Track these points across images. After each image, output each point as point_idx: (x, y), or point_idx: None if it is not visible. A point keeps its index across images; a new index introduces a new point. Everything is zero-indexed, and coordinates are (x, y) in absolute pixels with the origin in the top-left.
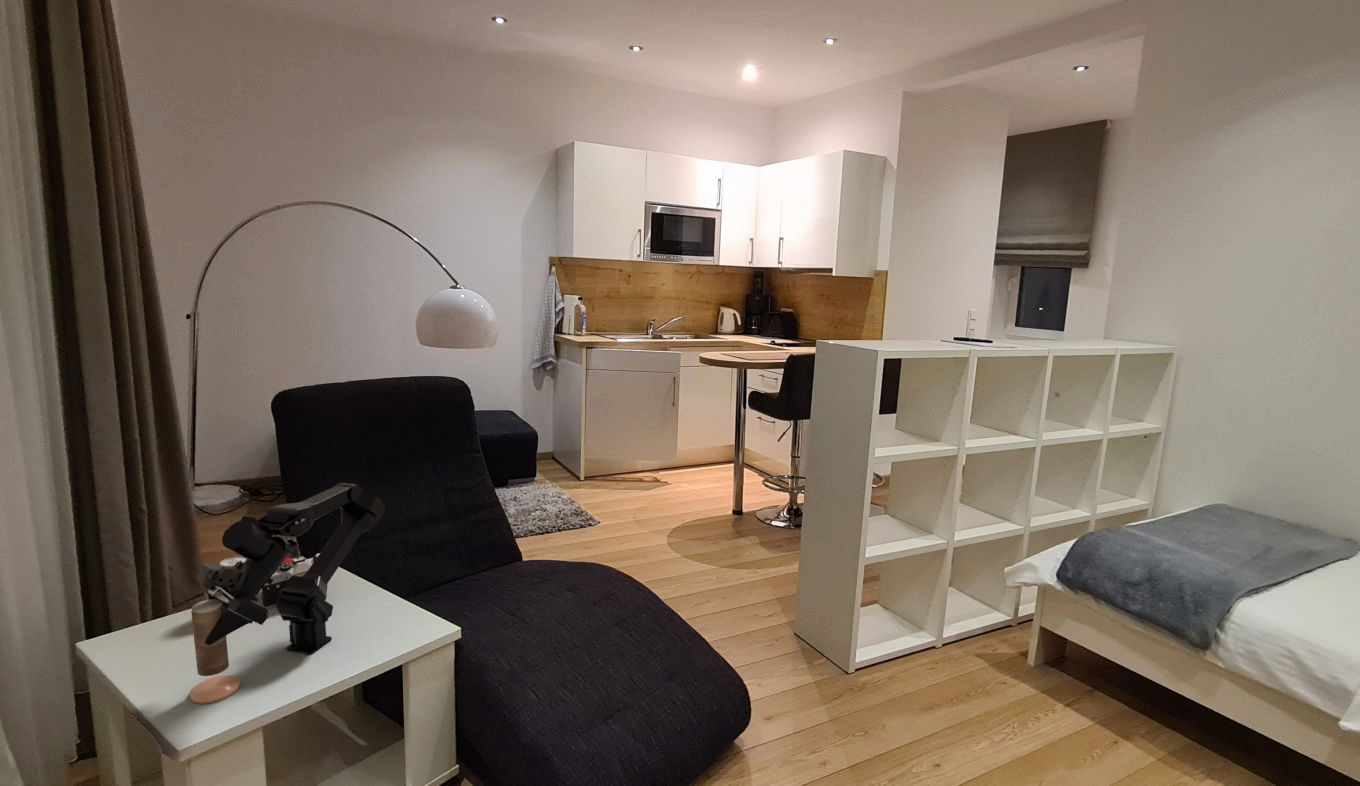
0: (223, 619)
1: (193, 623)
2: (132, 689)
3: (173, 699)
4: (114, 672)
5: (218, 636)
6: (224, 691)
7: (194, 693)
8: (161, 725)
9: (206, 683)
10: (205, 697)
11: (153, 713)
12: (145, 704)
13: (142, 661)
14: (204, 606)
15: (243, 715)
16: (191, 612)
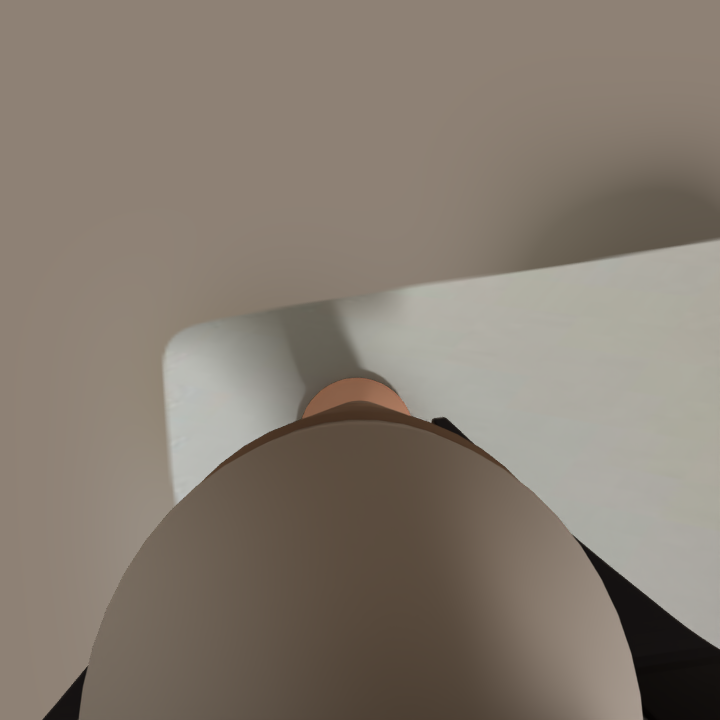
0: (60, 703)
1: (335, 408)
2: (500, 283)
3: (386, 348)
4: (618, 262)
5: None
6: None
7: (360, 388)
8: (284, 310)
9: None
10: (319, 406)
11: (350, 304)
12: (405, 296)
13: (642, 319)
14: (323, 649)
15: (189, 464)
16: (375, 411)
